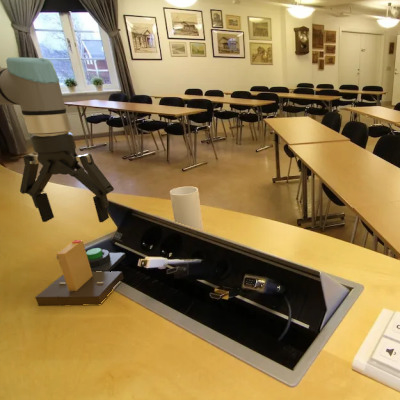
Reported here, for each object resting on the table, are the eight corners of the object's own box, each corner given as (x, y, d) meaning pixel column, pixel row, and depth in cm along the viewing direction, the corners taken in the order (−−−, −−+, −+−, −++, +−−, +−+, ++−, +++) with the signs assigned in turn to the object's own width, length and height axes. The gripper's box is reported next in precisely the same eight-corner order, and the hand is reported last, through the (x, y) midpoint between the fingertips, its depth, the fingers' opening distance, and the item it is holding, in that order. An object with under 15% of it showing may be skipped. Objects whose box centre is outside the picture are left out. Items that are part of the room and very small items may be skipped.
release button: (84, 260, 86) (82, 254, 86) (92, 253, 90) (91, 247, 89) (97, 260, 87) (96, 254, 86) (105, 253, 90) (104, 247, 89)
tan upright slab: (76, 291, 74) (64, 252, 71) (68, 291, 74) (55, 252, 71) (93, 275, 80) (82, 239, 76) (85, 275, 80) (74, 239, 76)
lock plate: (38, 306, 73) (34, 296, 72) (68, 279, 82) (66, 271, 82) (100, 305, 74) (98, 295, 73) (124, 279, 83) (122, 270, 82)
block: (65, 274, 85) (62, 264, 84) (87, 256, 93) (85, 247, 92) (108, 274, 85) (105, 264, 84) (126, 256, 93) (124, 247, 92)
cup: (176, 243, 101) (167, 196, 95) (179, 232, 108) (171, 187, 102) (203, 240, 103) (197, 193, 97) (204, 229, 110) (198, 185, 105)
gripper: (117, 131, 75) (135, 213, 83) (9, 129, 74) (37, 213, 82) (97, 136, 68) (118, 226, 76) (-23, 135, 67) (11, 226, 75)
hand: (76, 219), depth 79 cm, fingers open, 13 cm apart
